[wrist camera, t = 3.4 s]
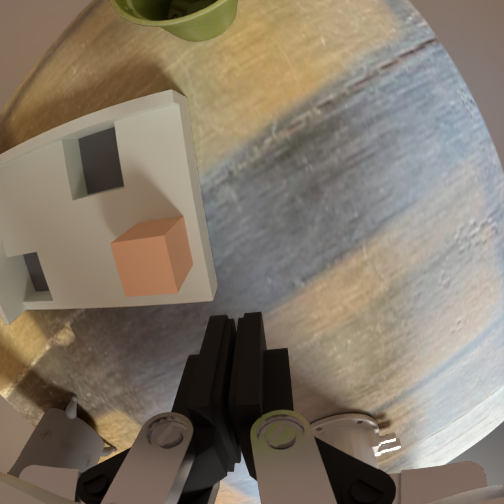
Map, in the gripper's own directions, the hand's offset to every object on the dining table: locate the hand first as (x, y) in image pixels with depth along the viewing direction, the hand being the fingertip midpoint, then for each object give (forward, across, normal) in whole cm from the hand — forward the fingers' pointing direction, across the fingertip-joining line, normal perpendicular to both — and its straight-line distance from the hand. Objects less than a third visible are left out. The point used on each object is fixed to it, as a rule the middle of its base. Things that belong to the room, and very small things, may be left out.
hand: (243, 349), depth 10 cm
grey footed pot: (+17, +34, +31) cm, 49 cm away
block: (+14, +7, 0) cm, 16 cm away
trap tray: (+17, +16, -3) cm, 24 cm away
